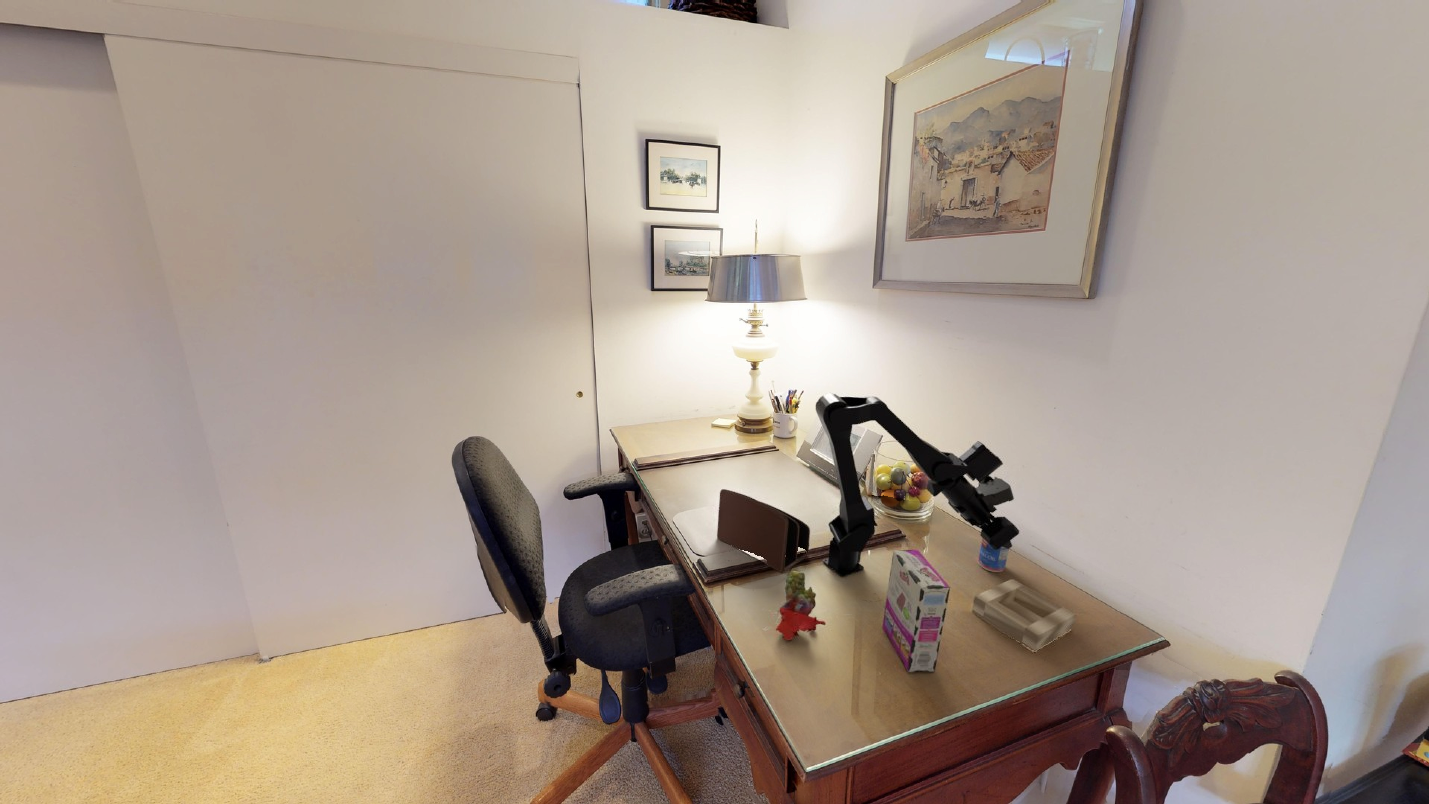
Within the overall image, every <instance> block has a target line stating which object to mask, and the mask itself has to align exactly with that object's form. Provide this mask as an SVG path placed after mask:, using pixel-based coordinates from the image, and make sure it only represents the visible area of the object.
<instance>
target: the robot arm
mask: <svg viewBox="0 0 1429 804" xmlns="http://www.w3.org/2000/svg"><path fill="white" fill-rule="evenodd" d="M815 411H816V412H815V413H816V414H817V417H818V419H819V421H820V423H821V425H822V428H823V430H824V432H825V434H826V436H827V439H828V441H829V447H830V450H831V455H832V460H833V465H834V469H835V474H836V479H837V483H838V488H839V493H840V502H839V514H838V515H837V516H836V517H835V518H834V519H832V520H830V522H828V527H829V531H830V533H831V535H832V536H833V537H832V539H831V540H829V548H828V549H829V550H828V558H824V559H823V560H822V563H823V564H825V565H826V566H827V567H829V569H831V570H832V571H833V572H835V573H836V574H837V575H839V576H840V577H842V578H844V577H848V576H850V575H852V574H856V573H858V572H861V571H863V570H864V569H865V567H864V566H863V565H862V564H861V563H860V562H861V554H862V552H863V551H864V549H865V547H866V546H867V543H868V541H869V540H870V539H871V538H872V537H873V536H874V535H875V532H876V527H878V525H879V524H877V522H876V520H875V519H876V518H875V508H874V507H873V505H872V504H871V503H870V501H869V500H868V499H867V497H866V496H862V491H861V488H860V483H859V478H858V477H859V476H858V472H857V468H856V464H855V458H854V454H853V453H854V452H853V447H852V443H851V435H852V431H853V426H854V425H856V426H857V425H861V424H864V423H867V422H872V421H875V422H876V423H877V425H879V426H880V427H881V428H883V430H885V431H886V432H887V433H888V434H889V435H890V436H891V437H892V438H893V439H894V440H895V441H896V442H897V443H899V445H901V446H902V447H903V448H904V450H905V451H906V452H907V453H908V456H909V457H910V459H911V461H913V463H914V465H915V466H916V467H917V468H918V469H919V470H920V471H921V472H922V473H923V474H924V475H925V476H927V477H928V480H927V482H928V483H927V485H926V490H927V491H928V492H929V493H930V495H932V497H937V496H938V495H939V494H942V495H943V496H944V497H945V498H946V499H947V501H948V505H949V506H950V507H951V508H952V509H953V510H954V511H955V512H956V513H957V514H959V515H960V517H961V518H962V519H963V520H964V521H966V523H969V524H970V526H972V527H974V526H975V527H976V528H978V529H981V530H980V537H981V539H982V538H983V539H984V540H985V541H986V542H987V543H988V544H989V545H990V546H991V547H992V548H993V549H994V550H998V549H1000V548H1001V547H1004V548H1007V549H1009V550H1010V549H1011V548H1012V547H1013V544H1012V540H1013V539H1014V538H1016V536H1019V534H1020V530H1019V529H1018V527H1017V526H1016V524H1014V523H1013V522H1012V521H1010V520H1009V519H1008V518H1007V517H1006V516H995V515H993V513H994V512H996V511H997V510H998V509H997V507H996V506H999V505H1002V504H1004V503H1007V502H1012V501H1013V500H1015V497H1014V494H1013V490H1012V488H1011V485H1010V484H1009V483H1008V482H1006V481H1005V480H1003V479H1002V478H998V477H997V476H994V477H992V476H991V475H992V473H994V472H996V471H997V470H998V469H999V468H1000V467H1001V466H1003V465H1004V463H1003V461H1002V460H1001V458H999V456H997V455H996V454H994V453H993V452H992V451H991V450H990V449H989V448H988V447H987V446H986V445H985V444H984V443H982V442H981V441H979V440H977V441H976V442H975V443H974V444H972V445H971V447H970V448H969V449H967V450H966V451H965V452H964V453H962V454H961V455H960V456H959V457H958V456H957V455H955V454H954V453H952V452H946V451H941V450H939V448H937V447H935V446H934V445H933V444H930V443H929V442H928V441H926V440H924V439H923V438H920V437H919V435H917V434H916V433H915V432H914V431H913V429H911V428H910V427H909V426H908V425H907V424H906V423H905V422H904V421H903V420H902V419H900V418H899V417H898V416H897V415H896V414H895V413H894V412H893V411H892V410H891V409H890V408H889V407H888V406H887V404H886V403H885V402H884V401H882V399H880V398H879V397H877V396H852V395H837V394H836V393H831V392H830V393H826V394H823V395H822V396H820V397H819V398H818V400H817V401H816V402H815ZM965 475H966V476H967V477H968V478H969V479H970V480H971V481H972V482H974V481H977V482H978V486H976V487H975V485H974V484H972V483H971V482H970V481H969V480H968V479H967V478H966V477H965Z"/></svg>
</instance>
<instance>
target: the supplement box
mask: <svg viewBox="0 0 1429 804" xmlns="http://www.w3.org/2000/svg"><path fill="white" fill-rule="evenodd" d="M874 462H875V454H874V453H872V457H871V461H870V463H869V466H868V465H867V466H868V470H867V469H866V476H865V490H866V495H867V496H870V497H871V495H872V492H873V469H874Z"/></svg>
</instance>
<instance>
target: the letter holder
mask: <svg viewBox="0 0 1429 804" xmlns="http://www.w3.org/2000/svg"><path fill="white" fill-rule="evenodd" d="M718 504H719V505H718V516H717V517H718V518H717V532H716V538H717V540H719V541H722V542H723V541H724V543H725V542H726V543H725V544H727V545H730V546H731V545H732V546H731V547H733V548H734V549H736V548H738V549H740V550H744V551H748V552H750V553H754V554H755V555H757V556H761V557H763V558H764V559H766V560H767V564H768V565H767V566H768V567H770V568H771V569H774V571H778V572H779V573H780V574H784V573H786V572H787V571H788V570H790V569H792V568H793V567H794V566H795V565H798V563H800V562H802V561H803V560H805V559H806V558H807V557H808V556H809V553H808V551H810V539H811V538H810V536H811V529H810V526H809V525H808V524H806V523H805V522H804V521H802V520H800V519H799V518H797V517H796V516H794V515H792V514H789V513H788V512H786V511H784V510H782V509H780V508H778V507H776V506H773V505H771V504H768V503H765V502H763V501H760V500H757V499H755V498H753V497H751V496H749V495H746V494H743V493H740V492H737V491H734V490H729V489H720V492H719V503H718ZM798 547H800V548H803V549H805V550H806V551H807V553H806V552H805V553H800V554H797V551H798ZM738 549H737V550H738ZM740 550H739V551H740ZM785 555H786V557H785ZM807 555H808V556H807Z"/></svg>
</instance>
